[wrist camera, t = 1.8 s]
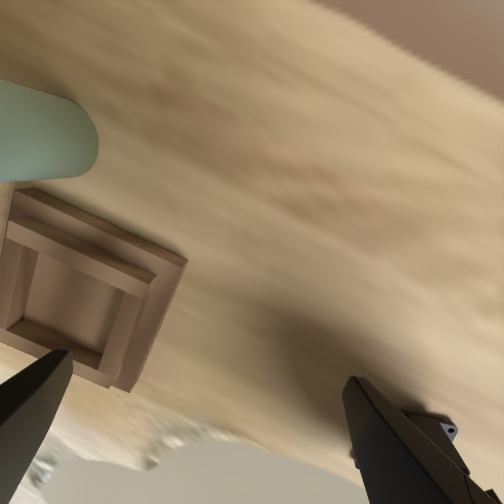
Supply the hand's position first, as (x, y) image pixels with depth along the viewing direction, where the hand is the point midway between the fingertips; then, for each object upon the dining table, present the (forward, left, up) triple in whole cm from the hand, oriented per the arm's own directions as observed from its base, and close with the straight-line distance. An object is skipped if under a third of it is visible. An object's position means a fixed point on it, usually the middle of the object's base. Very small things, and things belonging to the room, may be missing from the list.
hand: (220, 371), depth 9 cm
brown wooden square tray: (-5, +12, -12) cm, 18 cm away
